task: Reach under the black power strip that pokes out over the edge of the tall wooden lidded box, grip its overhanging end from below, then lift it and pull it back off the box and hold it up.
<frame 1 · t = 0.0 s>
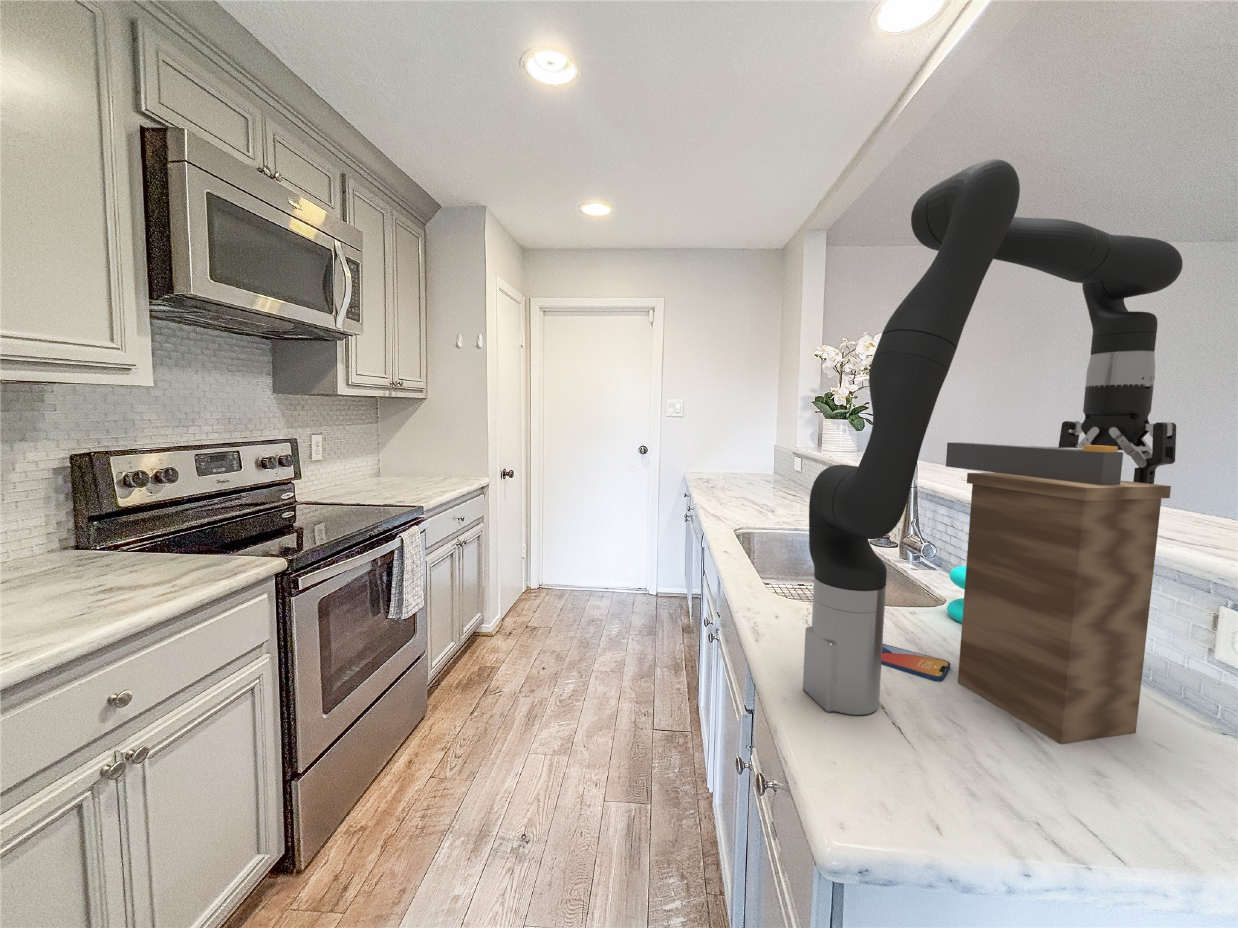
hand: (1108, 488, 80), 29 cm above the counter, tool pointing down, fingers open, 8 cm apart
turquoise spool: (976, 621, 102), on the counter
smartphone: (894, 661, 85), on the counter
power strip: (1020, 474, 74), point 32 cm above the counter, touching wooden lidded box
wooden lidded box: (1039, 705, 72), on the counter
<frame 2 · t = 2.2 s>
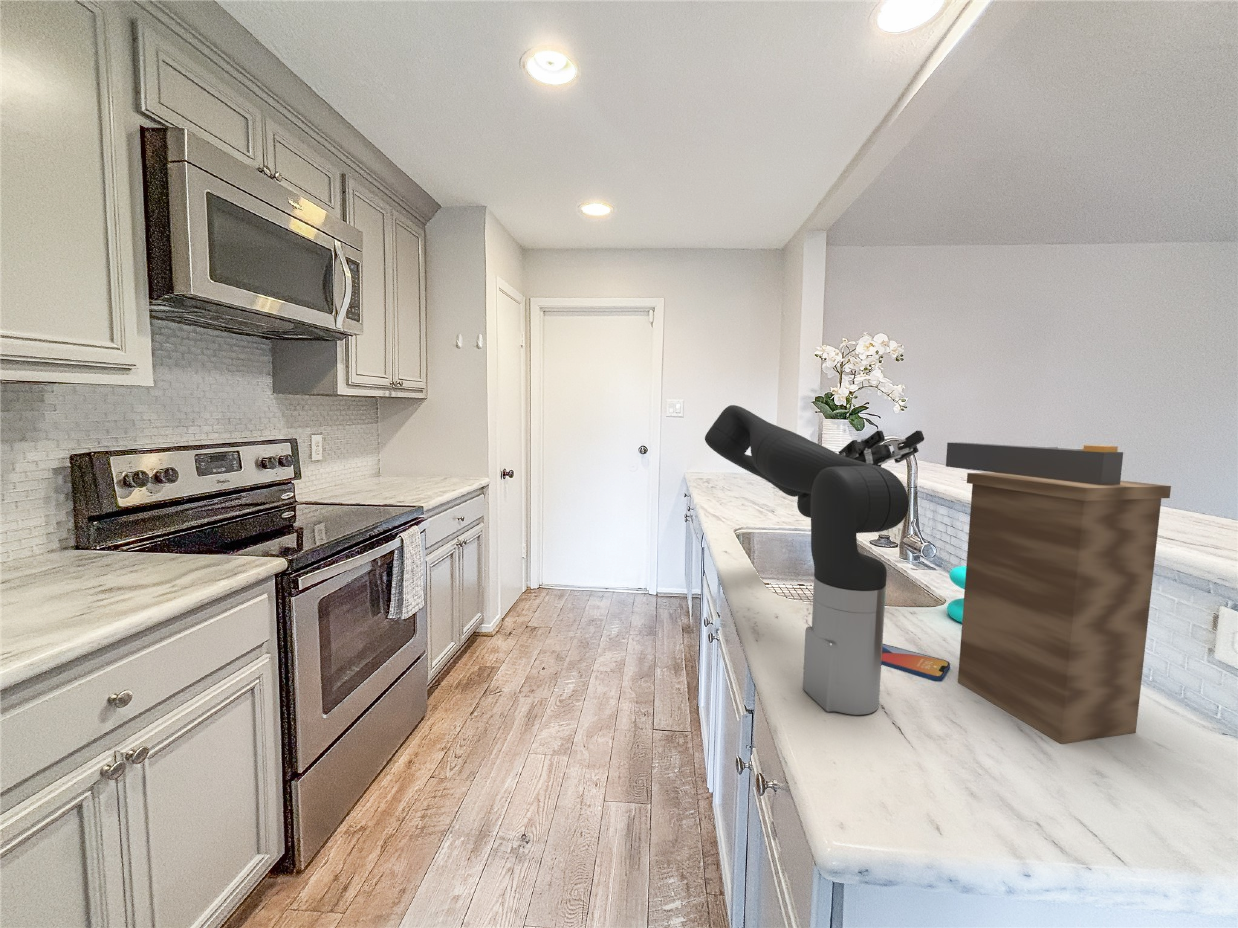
hand: (902, 434, 97), 37 cm above the counter, tool pointing upward, fingers open, 8 cm apart
nothing on the counter moved.
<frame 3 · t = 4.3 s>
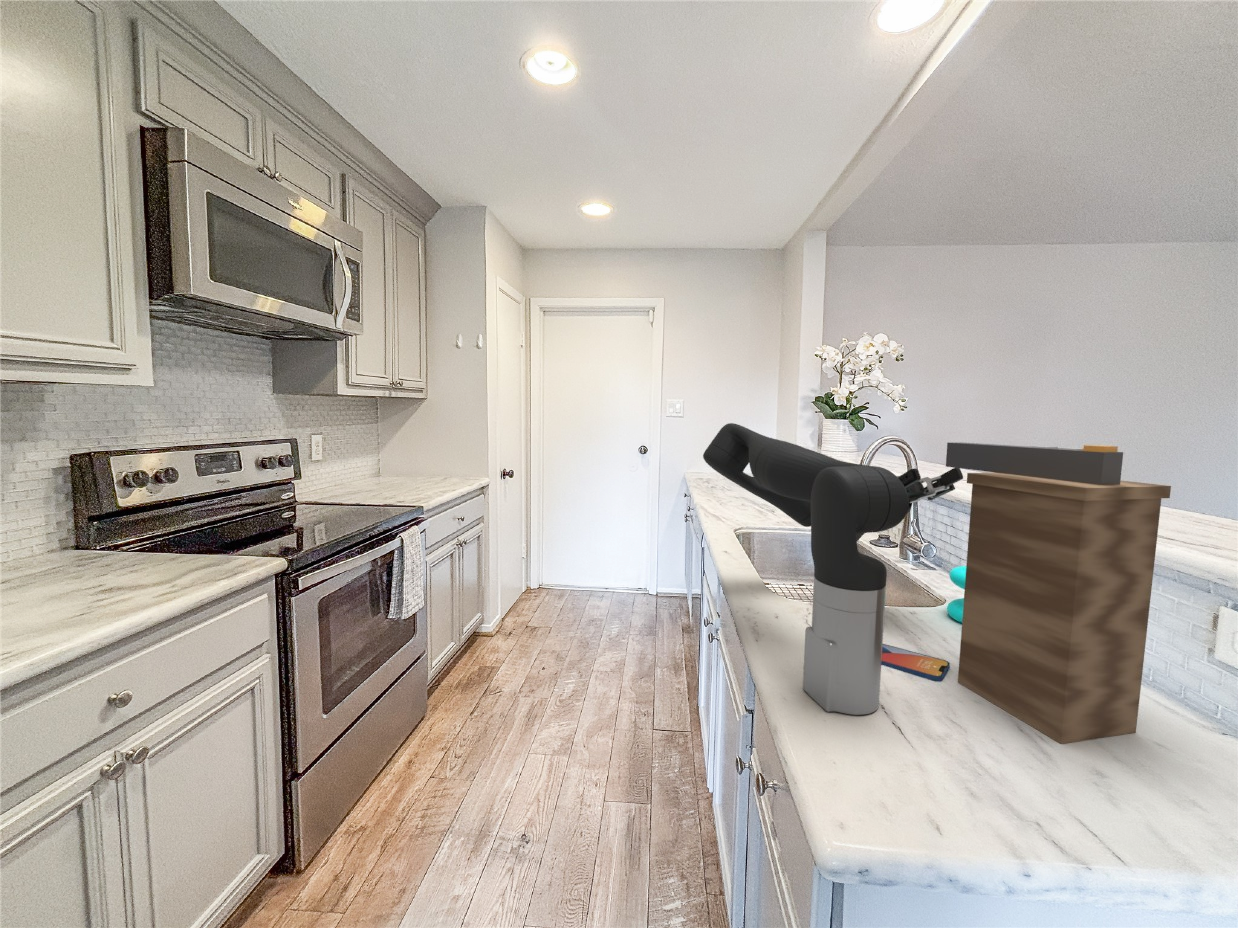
hand: (939, 473, 88), 31 cm above the counter, tool pointing upward, fingers open, 8 cm apart
nothing on the counter moved.
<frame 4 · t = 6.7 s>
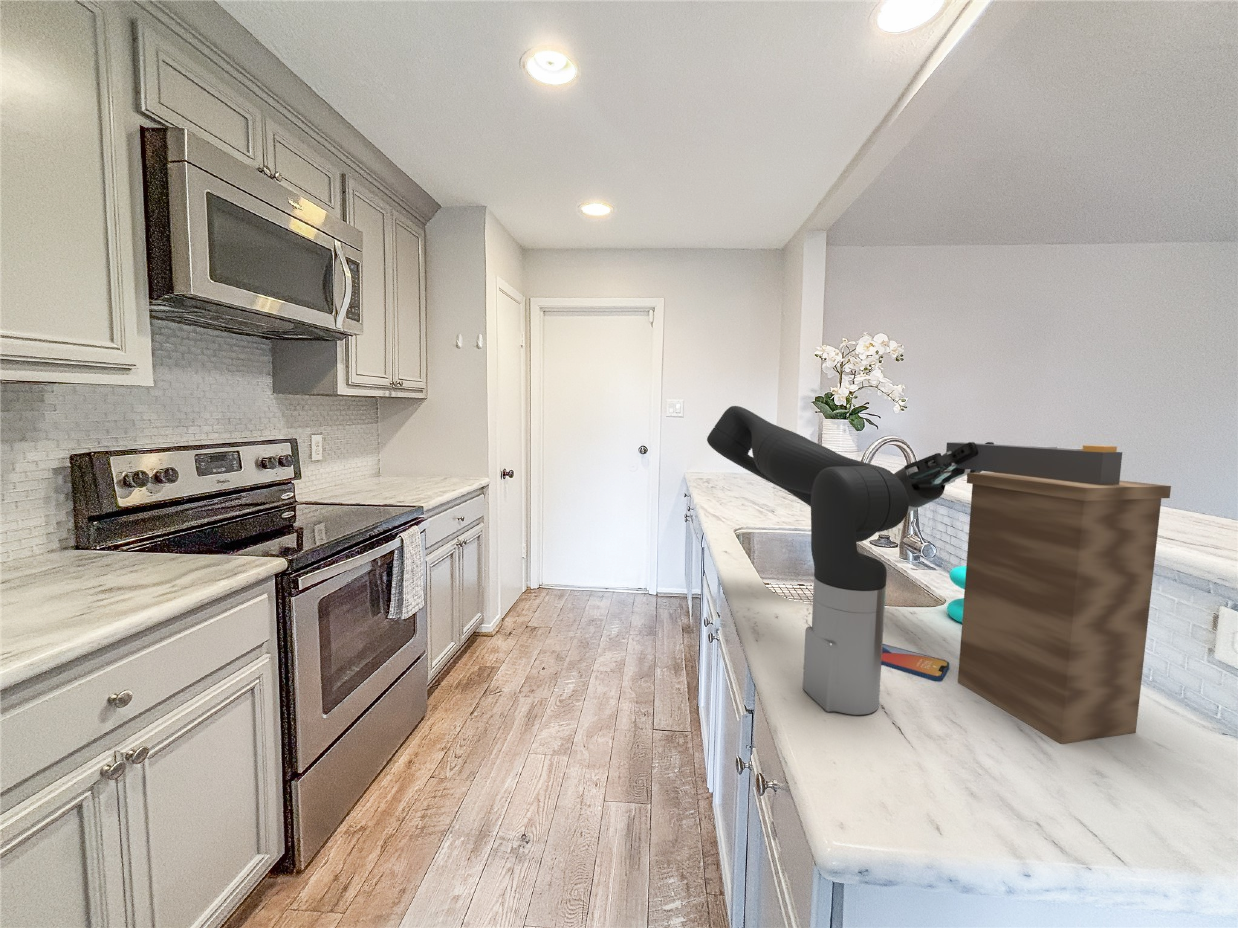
hand: (984, 447, 80), 35 cm above the counter, tool pointing upward, fingers closed on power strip, 3 cm apart
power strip: (1019, 474, 74), point 32 cm above the counter, touching gripper, wooden lidded box
everything else where it was.
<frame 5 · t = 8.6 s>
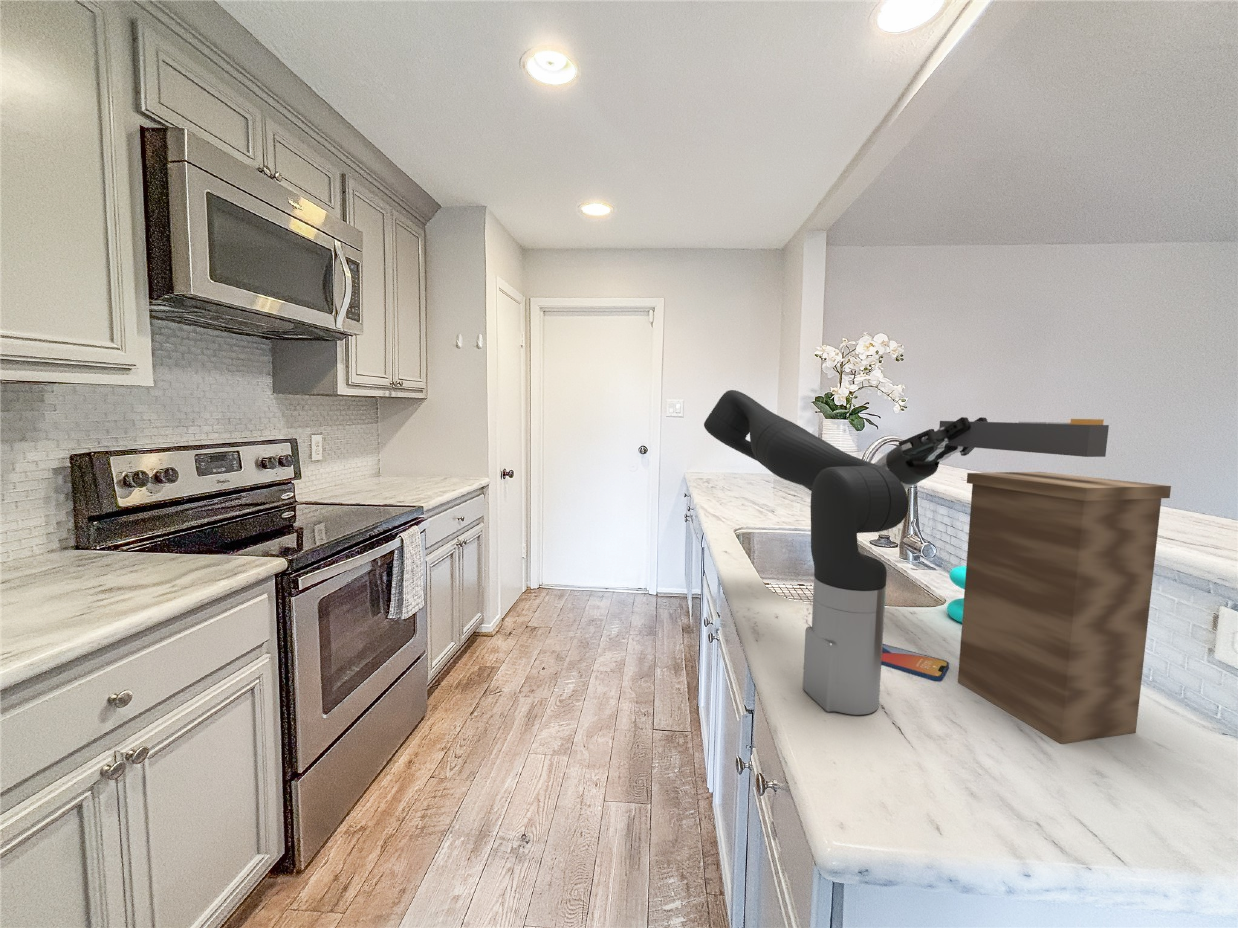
hand: (976, 422, 81), 39 cm above the counter, tool pointing upward, fingers closed on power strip, 3 cm apart
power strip: (1009, 449, 76), point 35 cm above the counter, touching gripper
everything else where it was.
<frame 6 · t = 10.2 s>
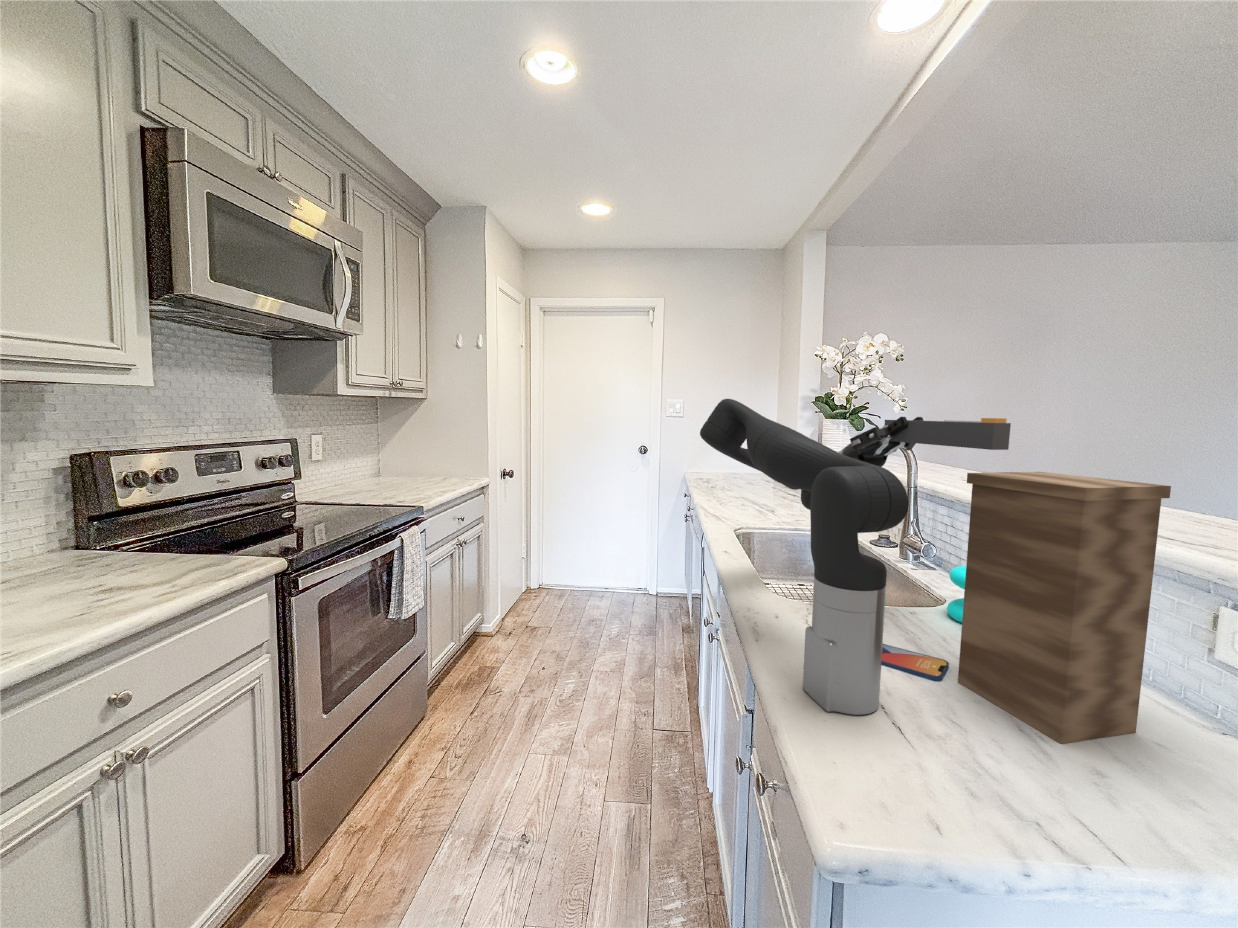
hand: (913, 421, 94), 39 cm above the counter, tool pointing upward, fingers closed on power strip, 3 cm apart
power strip: (938, 444, 88), point 35 cm above the counter, touching gripper
everything else where it was.
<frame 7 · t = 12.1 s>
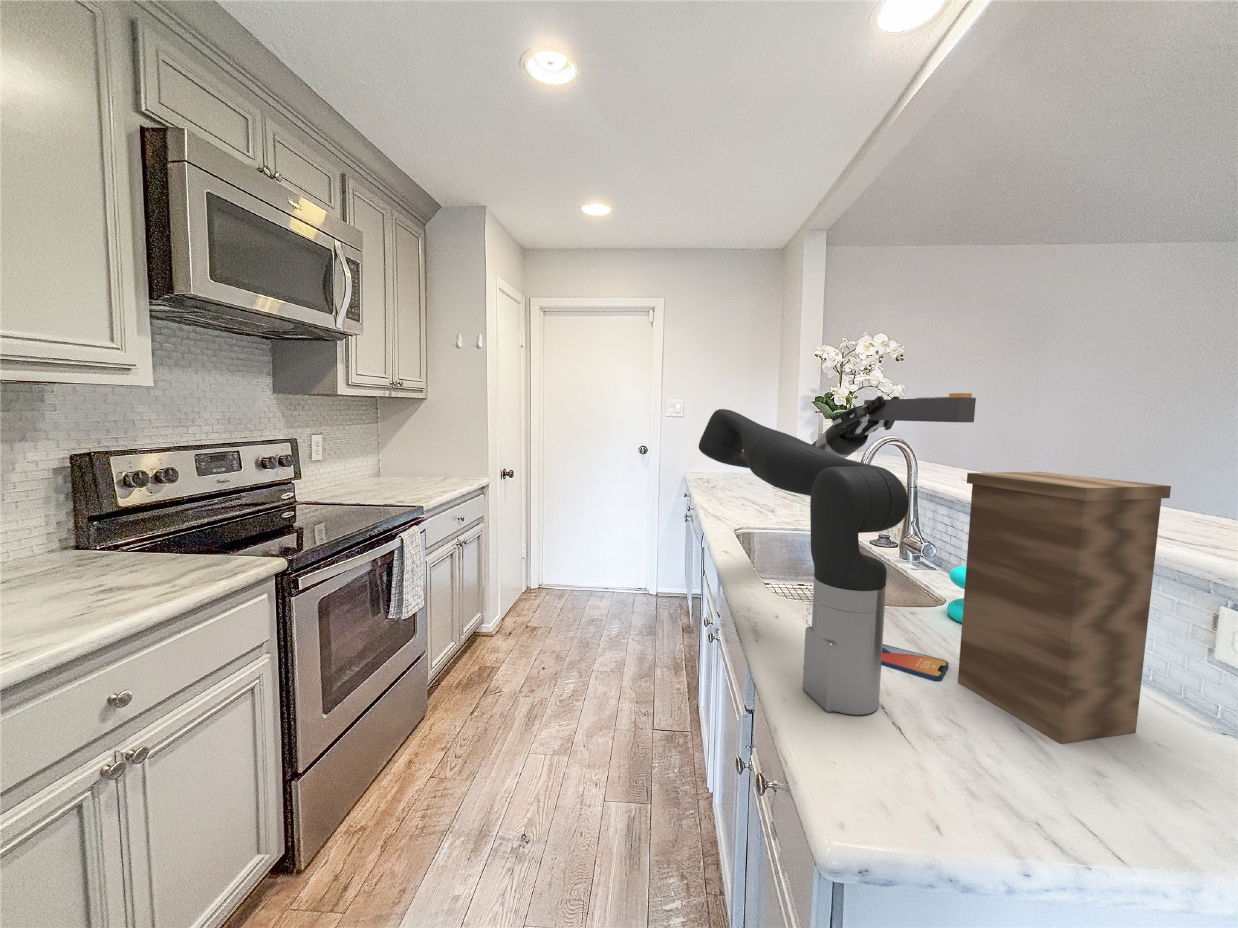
hand: (890, 400, 99), 43 cm above the counter, tool pointing upward, fingers closed on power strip, 3 cm apart
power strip: (912, 420, 94), point 39 cm above the counter, touching gripper
everything else where it was.
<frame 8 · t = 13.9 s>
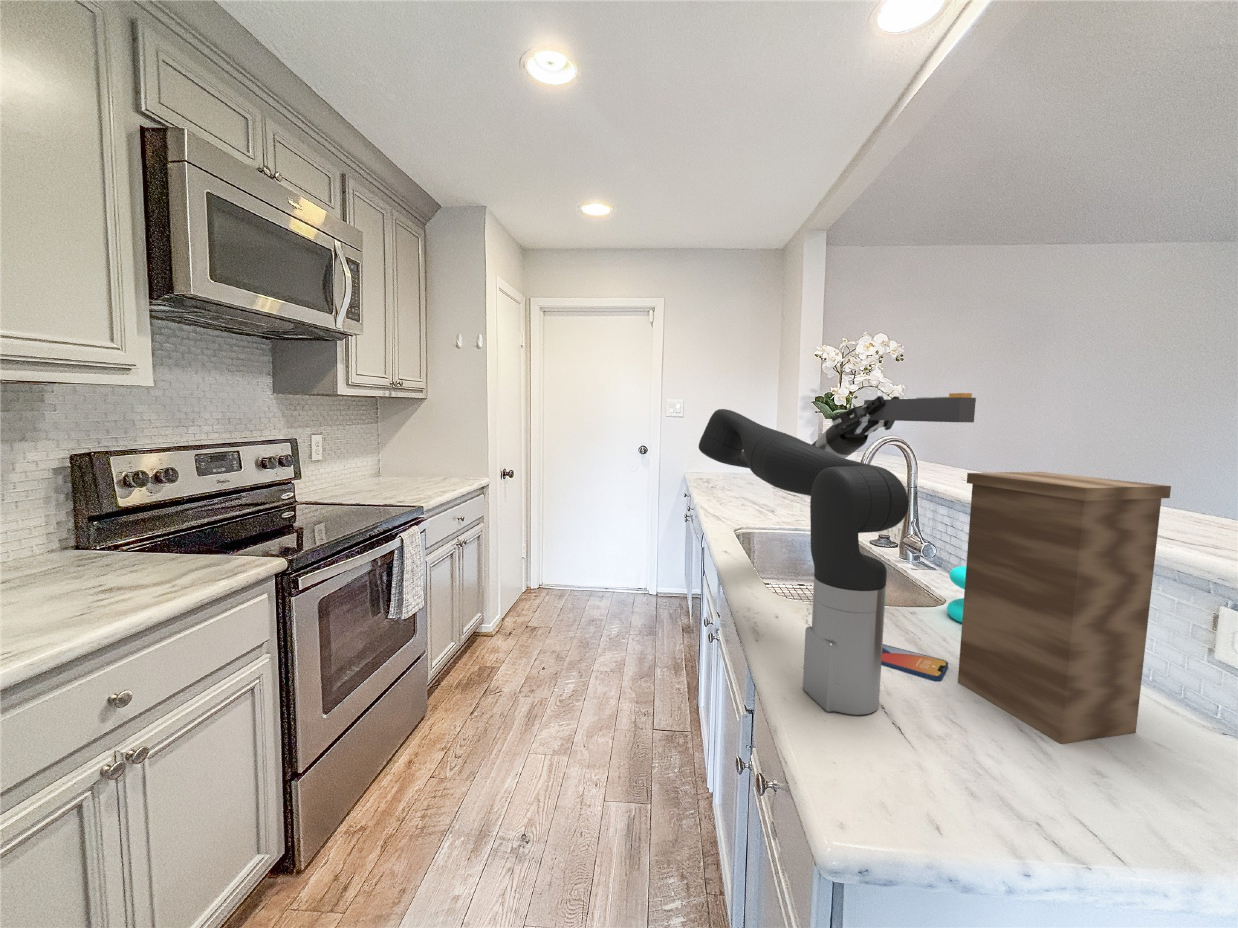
hand: (890, 400, 99), 43 cm above the counter, tool pointing upward, fingers closed on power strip, 3 cm apart
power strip: (912, 420, 94), point 39 cm above the counter, touching gripper
everything else where it was.
at the end: the gripper is holding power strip; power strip inside the target area (3.4 cm from its centre), point 39.5 cm above the counter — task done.
